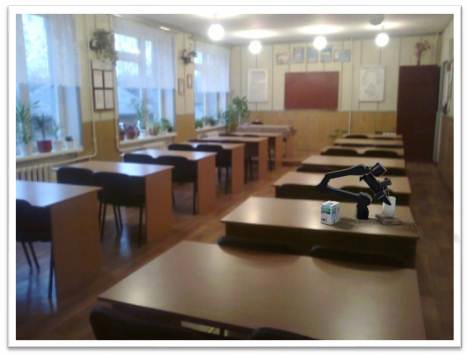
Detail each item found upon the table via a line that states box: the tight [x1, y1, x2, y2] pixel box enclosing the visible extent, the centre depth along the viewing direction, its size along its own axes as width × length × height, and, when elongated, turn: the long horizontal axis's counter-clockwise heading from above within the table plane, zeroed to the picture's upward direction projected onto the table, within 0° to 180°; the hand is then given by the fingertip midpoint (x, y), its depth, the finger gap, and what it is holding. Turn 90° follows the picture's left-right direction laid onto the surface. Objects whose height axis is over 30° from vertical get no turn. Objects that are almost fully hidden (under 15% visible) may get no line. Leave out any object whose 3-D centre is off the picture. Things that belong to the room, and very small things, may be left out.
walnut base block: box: [374, 213, 403, 225], centre depth 244 cm, size 10×14×2 cm
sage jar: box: [381, 195, 397, 217], centre depth 242 cm, size 6×6×10 cm
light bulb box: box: [320, 200, 341, 226], centre depth 241 cm, size 11×7×11 cm, turn 143°
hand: (391, 203), depth 242 cm, fingers closed on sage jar, 6 cm apart
